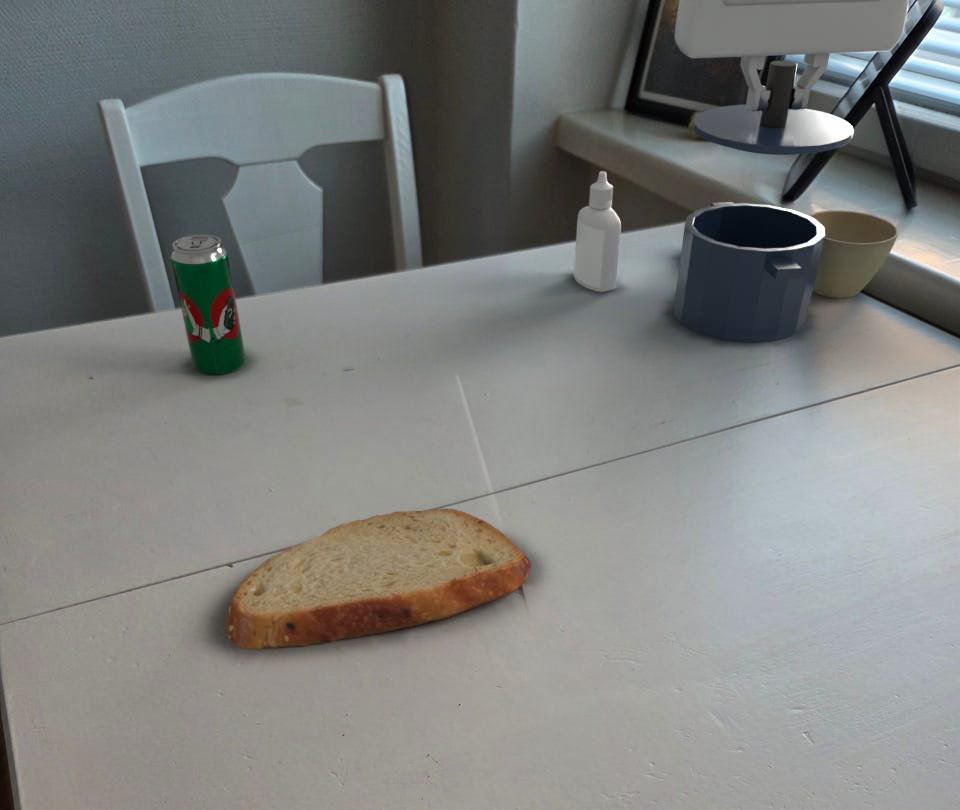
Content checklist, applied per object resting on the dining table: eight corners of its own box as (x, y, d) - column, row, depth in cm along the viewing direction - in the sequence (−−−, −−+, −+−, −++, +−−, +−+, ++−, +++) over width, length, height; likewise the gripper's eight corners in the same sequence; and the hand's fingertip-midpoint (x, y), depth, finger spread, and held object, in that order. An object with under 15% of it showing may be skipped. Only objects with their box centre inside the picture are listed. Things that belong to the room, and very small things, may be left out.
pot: (766, 279, 112) (783, 192, 106) (836, 352, 98) (860, 256, 92) (651, 286, 111) (661, 198, 104) (705, 362, 97) (720, 265, 90)
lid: (812, 114, 99) (827, 43, 95) (877, 157, 88) (897, 79, 84) (672, 120, 97) (681, 48, 93) (722, 164, 86) (734, 86, 82)
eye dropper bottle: (577, 295, 109) (585, 180, 101) (572, 275, 113) (579, 164, 105) (617, 294, 109) (627, 180, 101) (610, 275, 113) (619, 163, 105)
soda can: (248, 354, 98) (227, 231, 90) (245, 377, 94) (223, 251, 86) (196, 356, 98) (171, 233, 90) (191, 380, 94) (164, 254, 86)
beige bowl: (787, 305, 107) (801, 237, 102) (788, 270, 114) (801, 206, 109) (883, 313, 105) (902, 245, 100) (878, 278, 112) (895, 213, 108)
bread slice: (203, 638, 66) (192, 595, 64) (338, 501, 78) (334, 461, 76) (443, 716, 61) (441, 673, 58) (548, 557, 73) (550, 515, 70)
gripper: (907, -82, 85) (865, 96, 95) (680, -77, 83) (660, 104, 92) (944, -73, 81) (896, 113, 90) (704, -68, 78) (681, 122, 88)
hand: (775, 109), depth 91 cm, fingers closed on lid, 2 cm apart
